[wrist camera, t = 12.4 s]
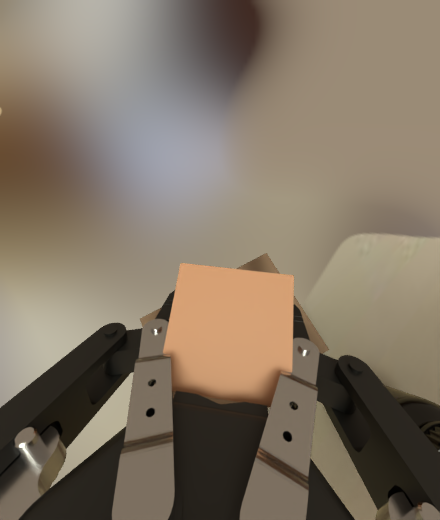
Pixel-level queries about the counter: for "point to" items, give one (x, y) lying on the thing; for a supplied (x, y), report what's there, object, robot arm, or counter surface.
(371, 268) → the counter surface
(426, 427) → the supplement bottle
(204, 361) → the terracotta block
